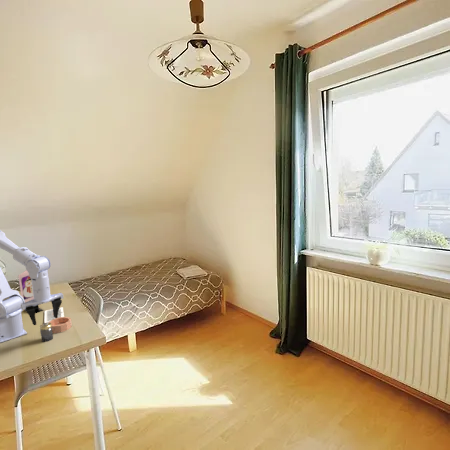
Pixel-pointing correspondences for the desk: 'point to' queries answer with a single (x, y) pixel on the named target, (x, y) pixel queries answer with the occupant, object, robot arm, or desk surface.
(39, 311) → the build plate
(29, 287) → the greeting card
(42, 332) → the battery
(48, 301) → the robot arm
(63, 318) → the peach round shallow bowl
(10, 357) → the desk surface
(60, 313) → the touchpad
